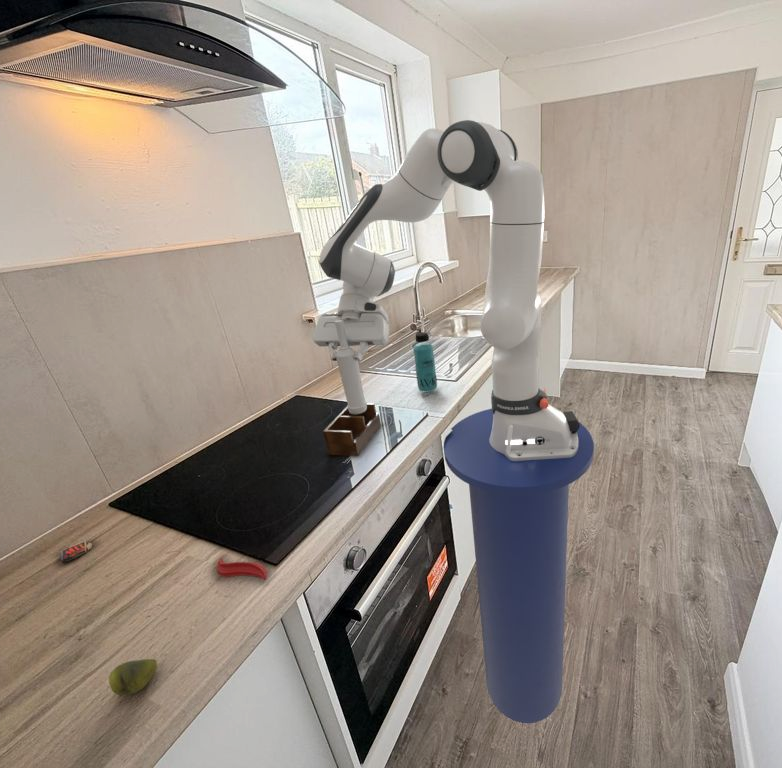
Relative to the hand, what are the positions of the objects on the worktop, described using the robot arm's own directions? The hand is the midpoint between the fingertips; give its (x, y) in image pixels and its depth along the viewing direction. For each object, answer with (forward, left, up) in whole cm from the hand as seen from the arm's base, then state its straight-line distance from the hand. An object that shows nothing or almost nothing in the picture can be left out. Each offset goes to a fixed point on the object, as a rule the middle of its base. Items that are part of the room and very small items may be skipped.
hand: (346, 360), depth 105 cm
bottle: (0, -1, -15) cm, 15 cm away
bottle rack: (0, +3, -22) cm, 22 cm away
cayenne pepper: (+2, +47, -22) cm, 52 cm away
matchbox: (+39, +47, -22) cm, 65 cm away
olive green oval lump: (+3, +66, -22) cm, 70 cm away
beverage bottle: (-12, -27, -22) cm, 37 cm away
